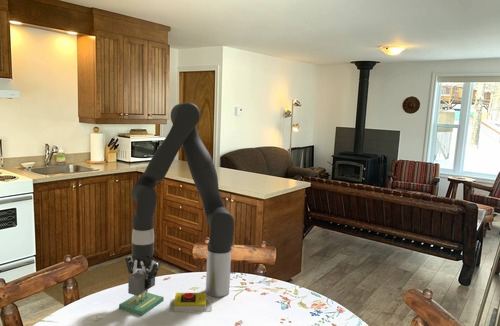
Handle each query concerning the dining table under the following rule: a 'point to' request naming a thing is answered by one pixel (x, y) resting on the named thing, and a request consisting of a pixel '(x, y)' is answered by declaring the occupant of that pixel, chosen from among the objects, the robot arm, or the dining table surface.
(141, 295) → the header board
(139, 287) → the block
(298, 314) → the dining table surface
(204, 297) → the emergency button
